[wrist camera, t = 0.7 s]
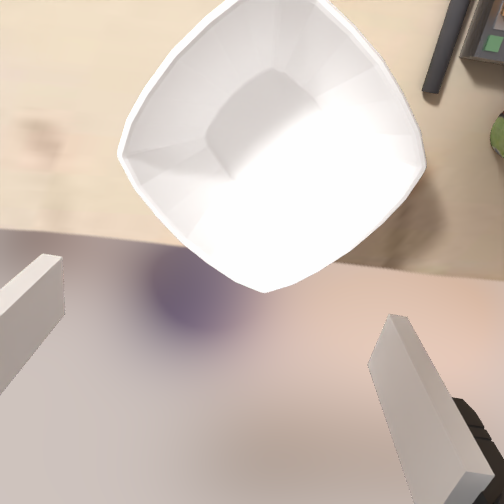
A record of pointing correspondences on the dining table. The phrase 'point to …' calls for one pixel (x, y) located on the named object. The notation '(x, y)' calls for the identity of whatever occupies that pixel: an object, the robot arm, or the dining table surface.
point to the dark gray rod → (445, 45)
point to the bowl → (272, 140)
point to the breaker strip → (486, 33)
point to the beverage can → (498, 135)
